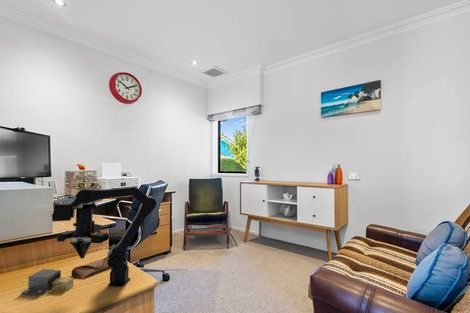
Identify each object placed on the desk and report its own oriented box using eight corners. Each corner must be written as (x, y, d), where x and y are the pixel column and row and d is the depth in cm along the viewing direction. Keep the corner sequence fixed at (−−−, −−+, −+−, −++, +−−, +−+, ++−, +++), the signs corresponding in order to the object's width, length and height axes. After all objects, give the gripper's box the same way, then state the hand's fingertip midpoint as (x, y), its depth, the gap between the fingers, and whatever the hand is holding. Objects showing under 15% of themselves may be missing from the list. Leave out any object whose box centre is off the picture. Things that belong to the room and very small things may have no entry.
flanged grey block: (65, 280, 103) (66, 267, 103) (40, 295, 91) (41, 281, 91) (48, 279, 104) (49, 266, 104) (21, 294, 92) (21, 279, 92)
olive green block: (73, 286, 98) (73, 277, 98) (66, 291, 95) (66, 282, 95) (59, 285, 99) (59, 277, 99) (52, 290, 95) (52, 281, 95)
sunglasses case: (81, 280, 103) (77, 265, 105) (73, 285, 106) (69, 270, 108) (119, 265, 119) (115, 252, 121) (111, 269, 122) (107, 257, 123)
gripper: (117, 216, 104) (115, 252, 104) (77, 214, 106) (75, 249, 105) (100, 222, 93) (99, 262, 93) (56, 220, 95) (54, 259, 94)
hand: (82, 258), depth 96 cm, fingers closed
